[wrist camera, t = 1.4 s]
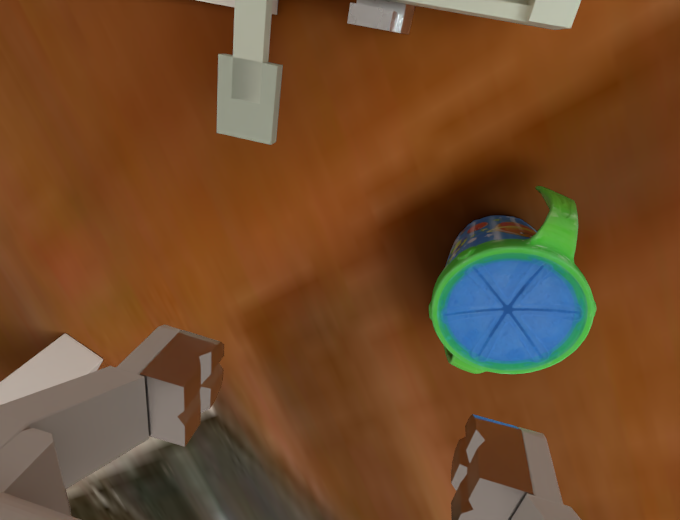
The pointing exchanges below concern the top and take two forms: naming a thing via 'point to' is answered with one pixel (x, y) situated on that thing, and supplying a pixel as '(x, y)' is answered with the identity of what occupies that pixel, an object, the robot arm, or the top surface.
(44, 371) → the milk
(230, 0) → the white flat rimmed tray
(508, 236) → the snack cup
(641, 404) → the top surface
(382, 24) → the stand
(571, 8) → the lever
